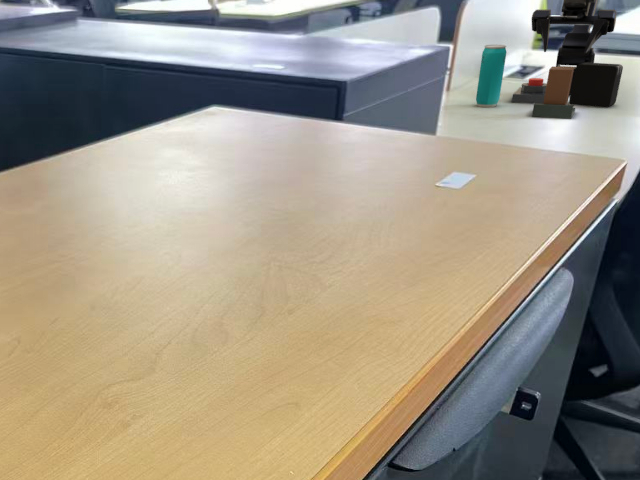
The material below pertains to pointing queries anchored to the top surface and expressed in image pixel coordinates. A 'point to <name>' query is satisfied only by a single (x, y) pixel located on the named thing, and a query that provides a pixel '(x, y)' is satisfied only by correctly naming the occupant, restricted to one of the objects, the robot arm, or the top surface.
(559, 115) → the block
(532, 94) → the power panel
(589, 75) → the electronic device
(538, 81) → the power button
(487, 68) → the beverage can
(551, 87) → the brown box
